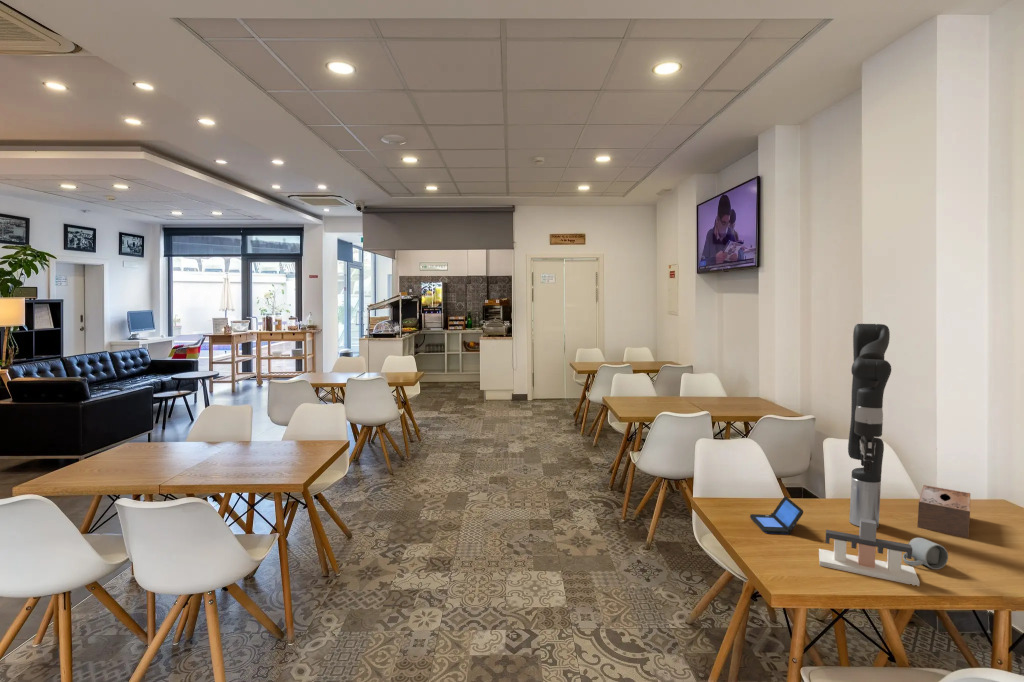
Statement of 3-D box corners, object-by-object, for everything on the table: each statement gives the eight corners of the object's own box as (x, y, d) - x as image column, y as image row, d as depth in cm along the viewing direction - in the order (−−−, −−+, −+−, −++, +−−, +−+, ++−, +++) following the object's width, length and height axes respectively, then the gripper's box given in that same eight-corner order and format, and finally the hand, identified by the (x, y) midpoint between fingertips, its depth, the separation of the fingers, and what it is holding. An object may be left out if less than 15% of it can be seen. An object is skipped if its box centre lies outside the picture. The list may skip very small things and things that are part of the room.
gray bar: (825, 540, 171) (826, 512, 170) (909, 555, 160) (911, 526, 160) (825, 543, 168) (827, 515, 167) (911, 559, 157) (913, 530, 157)
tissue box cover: (922, 509, 217) (923, 484, 216) (968, 518, 207) (970, 493, 207) (917, 527, 197) (918, 501, 197) (968, 539, 188) (970, 511, 187)
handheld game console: (748, 517, 205) (749, 494, 205) (784, 519, 204) (785, 495, 204) (764, 534, 190) (765, 509, 189) (803, 536, 189) (804, 510, 188)
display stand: (818, 553, 175) (819, 529, 174) (912, 571, 163) (914, 546, 162) (819, 565, 166) (820, 540, 165) (919, 586, 154) (920, 559, 153)
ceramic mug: (925, 557, 173) (926, 534, 172) (948, 569, 165) (949, 545, 164) (895, 558, 172) (896, 535, 171) (917, 571, 164) (917, 546, 163)
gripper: (853, 415, 180) (850, 462, 181) (856, 423, 168) (854, 473, 169) (879, 417, 177) (877, 465, 178) (885, 425, 164) (883, 477, 165)
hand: (866, 469), depth 173 cm, fingers open, 8 cm apart
